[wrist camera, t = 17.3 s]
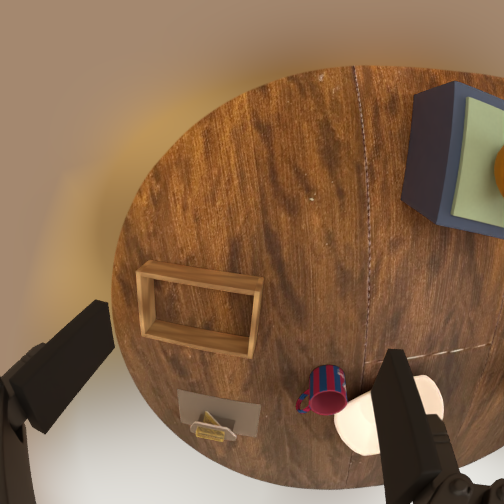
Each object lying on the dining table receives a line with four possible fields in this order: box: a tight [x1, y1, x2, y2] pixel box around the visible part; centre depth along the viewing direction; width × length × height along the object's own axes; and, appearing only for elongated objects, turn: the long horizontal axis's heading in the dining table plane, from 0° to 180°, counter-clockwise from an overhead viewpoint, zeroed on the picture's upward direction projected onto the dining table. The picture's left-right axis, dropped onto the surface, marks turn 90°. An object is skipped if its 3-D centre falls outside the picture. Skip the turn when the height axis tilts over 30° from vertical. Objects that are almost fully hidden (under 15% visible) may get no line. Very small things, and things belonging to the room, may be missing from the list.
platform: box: [177, 389, 261, 442], centre depth 60 cm, size 12×18×7 cm, turn 86°
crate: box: [401, 81, 504, 239], centre depth 33 cm, size 16×16×14 cm
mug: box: [296, 365, 347, 415], centre depth 53 cm, size 7×10×7 cm
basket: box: [136, 260, 264, 359], centre depth 51 cm, size 13×20×5 cm, turn 85°
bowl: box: [334, 375, 444, 456], centre depth 54 cm, size 22×22×5 cm
